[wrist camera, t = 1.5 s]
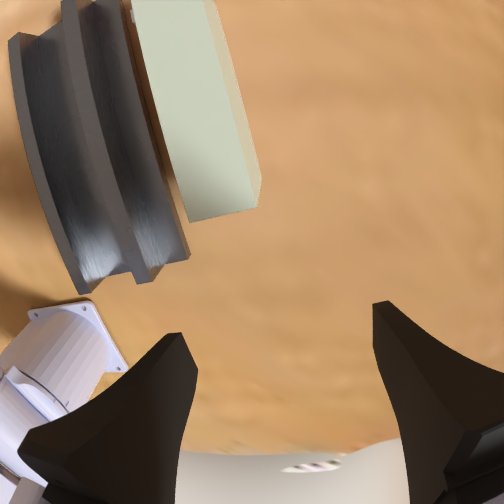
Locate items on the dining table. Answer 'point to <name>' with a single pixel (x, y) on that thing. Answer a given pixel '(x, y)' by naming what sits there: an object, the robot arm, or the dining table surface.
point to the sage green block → (198, 106)
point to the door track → (94, 146)
